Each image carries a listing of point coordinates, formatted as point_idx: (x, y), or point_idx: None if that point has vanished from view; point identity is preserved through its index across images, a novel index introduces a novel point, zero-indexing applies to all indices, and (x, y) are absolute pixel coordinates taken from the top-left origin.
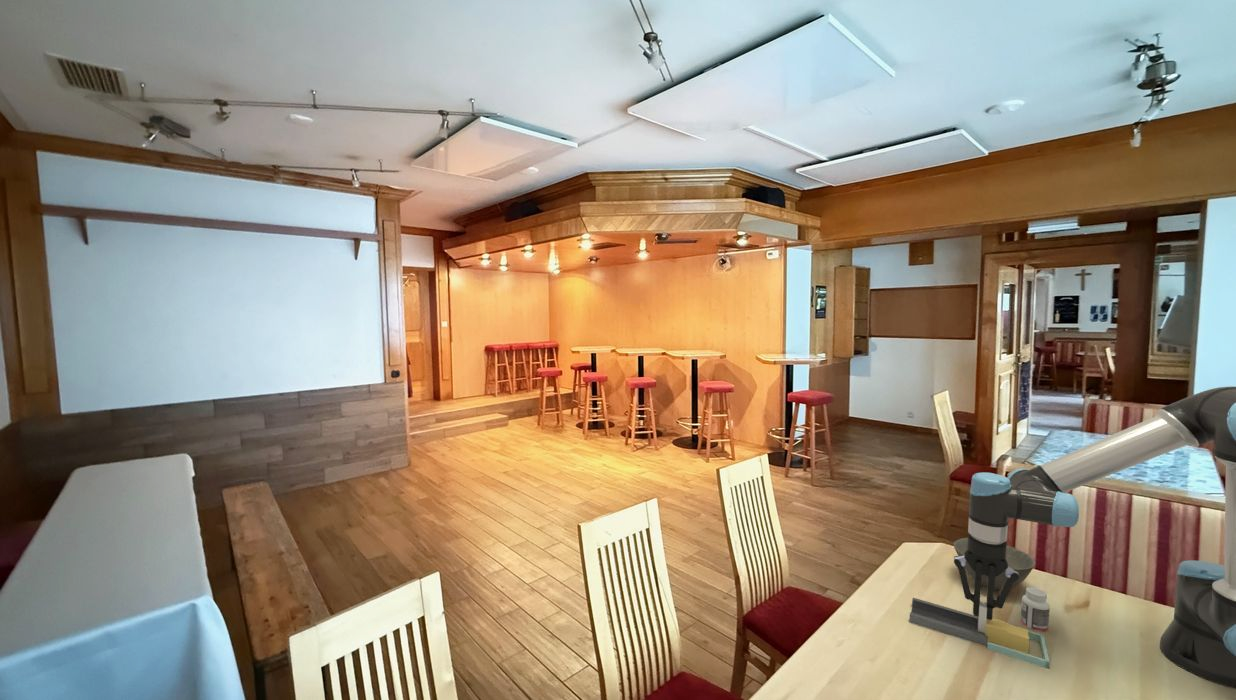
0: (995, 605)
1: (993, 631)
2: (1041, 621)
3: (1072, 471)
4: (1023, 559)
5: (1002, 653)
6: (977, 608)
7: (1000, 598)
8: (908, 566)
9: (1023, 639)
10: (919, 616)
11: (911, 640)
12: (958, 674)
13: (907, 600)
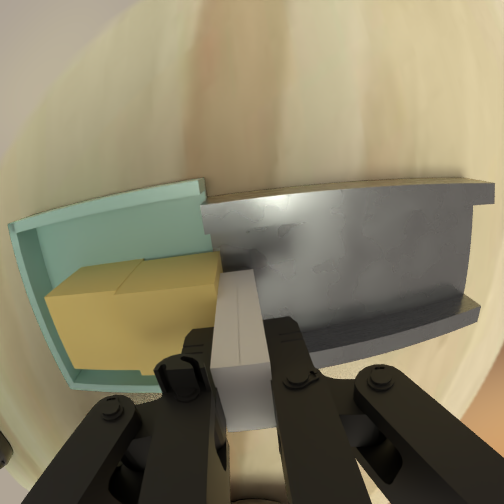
0: (150, 413)
1: (180, 276)
2: None
3: None
4: None
5: (143, 188)
6: (279, 352)
7: (85, 472)
8: None
9: (64, 290)
10: (473, 193)
11: (443, 85)
12: None
13: (457, 333)
